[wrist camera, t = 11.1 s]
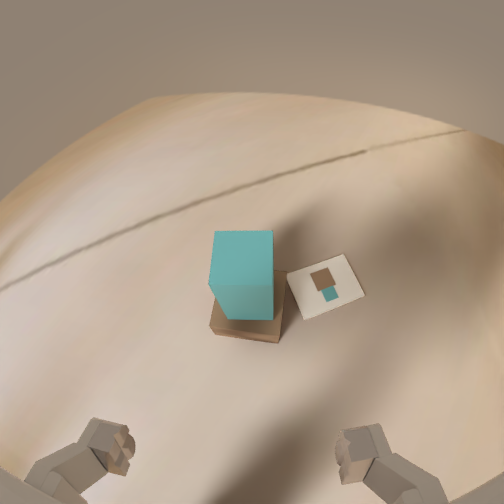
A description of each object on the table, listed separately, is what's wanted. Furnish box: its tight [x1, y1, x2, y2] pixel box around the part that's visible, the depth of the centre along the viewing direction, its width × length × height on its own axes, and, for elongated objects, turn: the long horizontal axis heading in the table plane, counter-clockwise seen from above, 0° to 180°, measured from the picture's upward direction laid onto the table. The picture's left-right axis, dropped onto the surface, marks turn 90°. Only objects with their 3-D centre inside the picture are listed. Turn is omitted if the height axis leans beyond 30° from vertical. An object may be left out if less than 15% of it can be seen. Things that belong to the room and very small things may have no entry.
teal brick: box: [209, 231, 274, 320], centre depth 25 cm, size 4×4×9 cm
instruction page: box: [287, 254, 365, 321], centre depth 33 cm, size 8×6×1 cm
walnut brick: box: [209, 270, 287, 343], centre depth 31 cm, size 7×7×4 cm
